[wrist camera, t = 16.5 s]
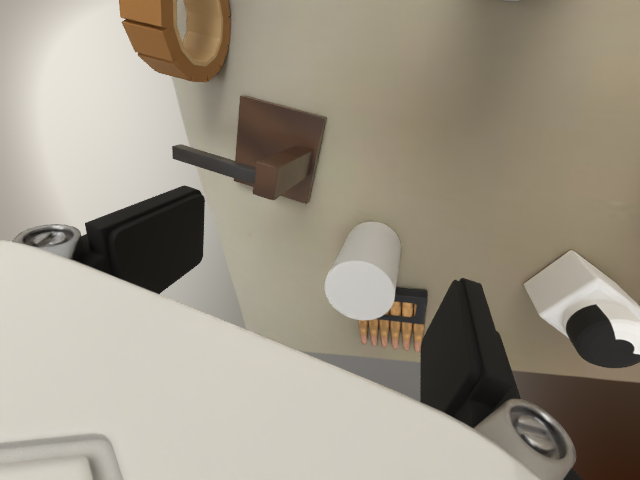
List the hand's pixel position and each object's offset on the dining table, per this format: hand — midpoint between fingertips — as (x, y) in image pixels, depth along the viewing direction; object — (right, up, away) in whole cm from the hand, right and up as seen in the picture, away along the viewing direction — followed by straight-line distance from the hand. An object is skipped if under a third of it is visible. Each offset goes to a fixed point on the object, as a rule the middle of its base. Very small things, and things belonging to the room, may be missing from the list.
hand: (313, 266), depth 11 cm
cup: (+8, 0, +35) cm, 36 cm away
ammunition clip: (+11, -7, +35) cm, 38 cm away
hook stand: (-6, +14, +33) cm, 36 cm away
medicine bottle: (+32, -5, +29) cm, 44 cm away
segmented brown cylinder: (-15, +26, +23) cm, 38 cm away
